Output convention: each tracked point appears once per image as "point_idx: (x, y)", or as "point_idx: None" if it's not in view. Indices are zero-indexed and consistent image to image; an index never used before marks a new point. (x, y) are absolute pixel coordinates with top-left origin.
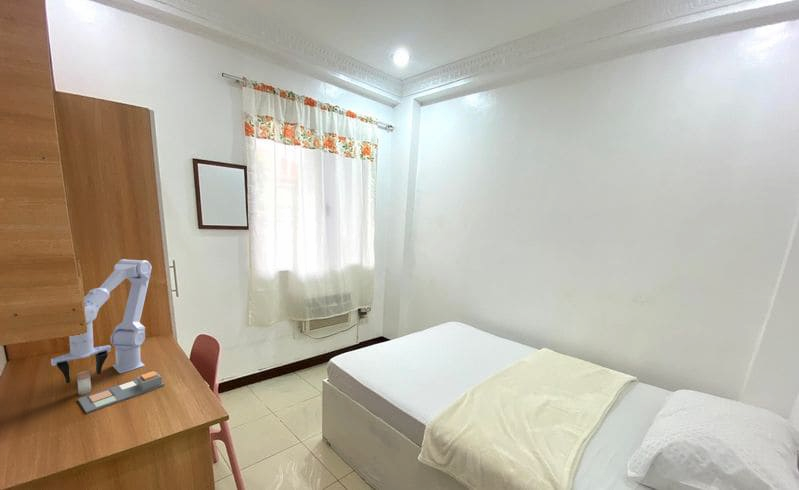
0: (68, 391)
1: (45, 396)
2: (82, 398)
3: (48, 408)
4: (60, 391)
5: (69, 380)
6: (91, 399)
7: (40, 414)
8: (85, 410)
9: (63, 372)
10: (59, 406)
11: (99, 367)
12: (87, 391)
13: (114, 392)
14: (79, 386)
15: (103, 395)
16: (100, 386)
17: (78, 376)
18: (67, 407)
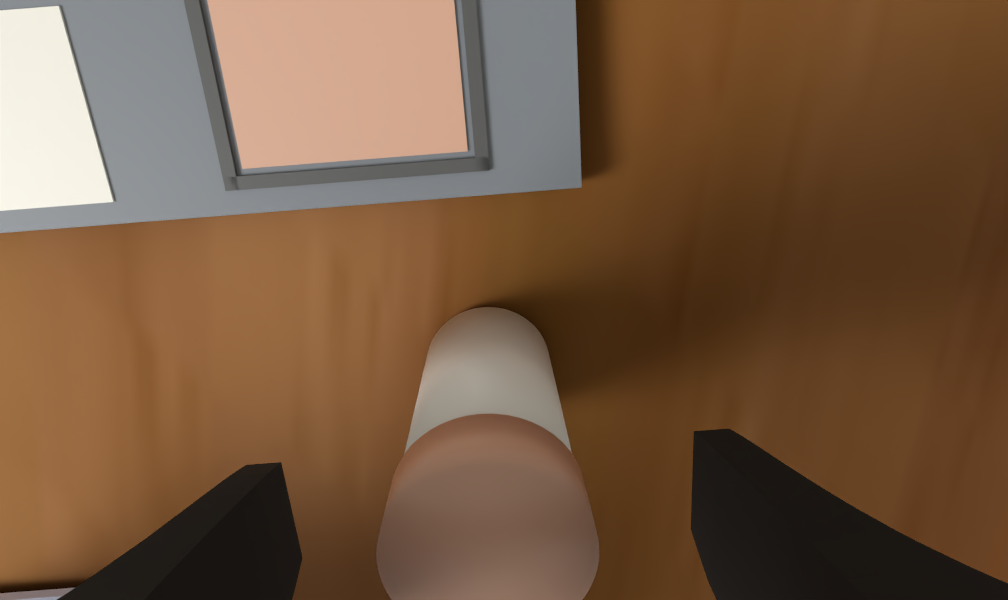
0: (613, 510)
1: None
2: (538, 143)
3: (840, 226)
4: (669, 561)
5: (720, 445)
6: (451, 3)
7: (934, 124)
8: None
9: (1003, 582)
10: (751, 187)
11: (178, 545)
12: (466, 320)
13: (166, 1)
14: (549, 386)
15: (304, 9)
16: (332, 406)
17: (579, 490)
18: (695, 80)
